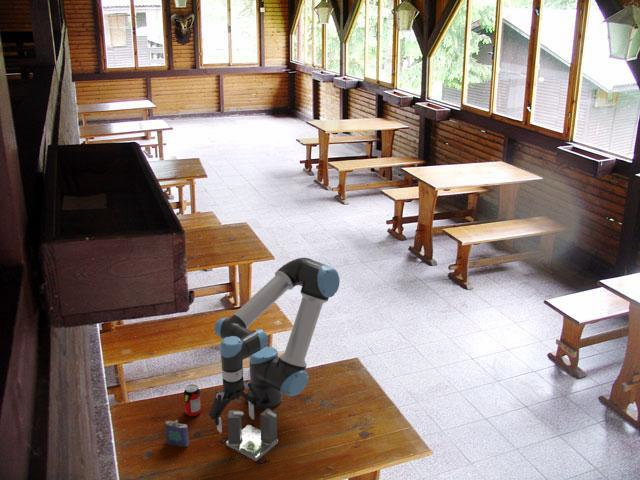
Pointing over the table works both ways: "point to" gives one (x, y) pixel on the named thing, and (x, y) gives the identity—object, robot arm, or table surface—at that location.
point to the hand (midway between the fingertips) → (235, 424)
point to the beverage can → (192, 400)
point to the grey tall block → (268, 426)
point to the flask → (176, 434)
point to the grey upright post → (234, 427)
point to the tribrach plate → (252, 443)
